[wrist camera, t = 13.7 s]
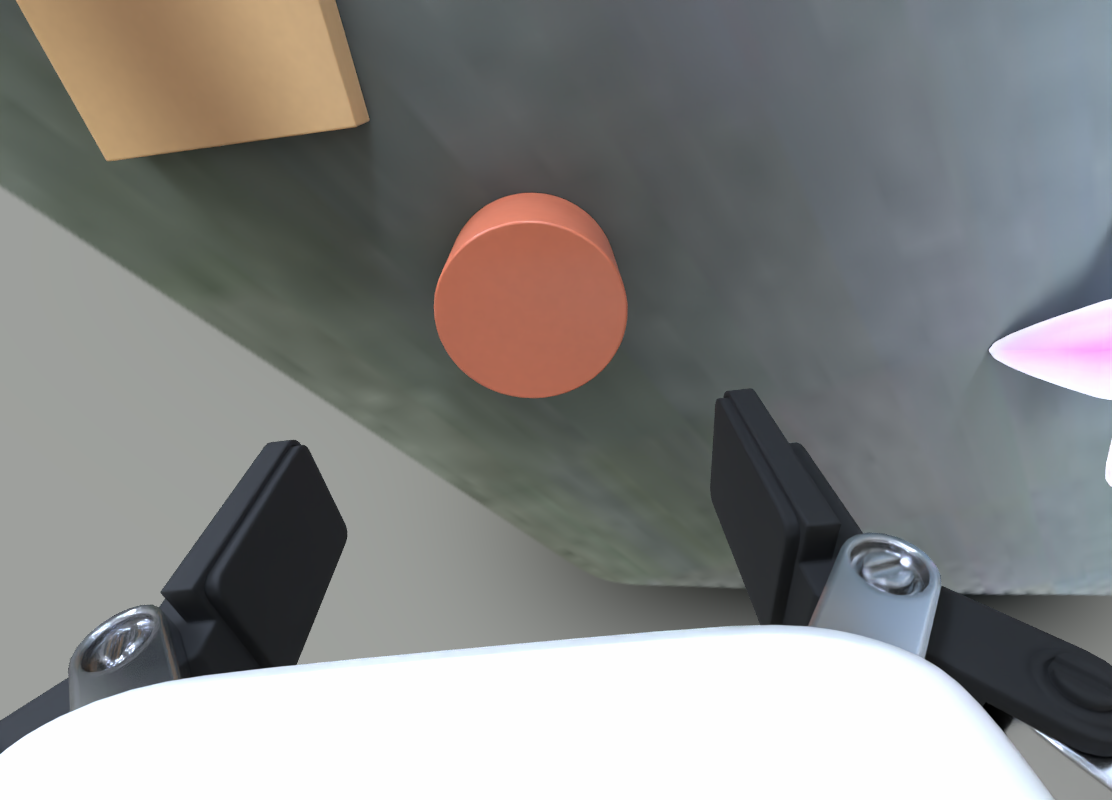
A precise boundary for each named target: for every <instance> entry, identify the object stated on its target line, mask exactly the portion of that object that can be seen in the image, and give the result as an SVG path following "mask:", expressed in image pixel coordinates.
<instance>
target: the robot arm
mask: <svg viewBox="0 0 1112 800" xmlns="http://www.w3.org/2000/svg"><path fill="white" fill-rule="evenodd" d="M710 492H711V498H712V502H713V505H714V508H715V510H716V513H717V515H718V518H719V520H720V523H721V526H722V528H723V531H724V533H725V536H726V538H727V541H728V543H729V546H730V548H731V551H732V554H733V556H734V559H735V561H736V564H737V566H738V569H739V571H740V574H741V576H742V579H743V582H744V584H745V587H746V589H747V592H748V594H749V597H750V599H751V602H752V604H753V607H754V610H755V612H756V615H757V617H758V620H759V622H760V625H749V626H726V627H712V628H699V629H685V630H672V631H671V630H670V631H657V632H645V633H633V634H622V635H611V636H600V637H588V638H576V639H566V640H554V641H544V642H531V643H521V644H510V645H499V646H489V647H477V648H468V649H456V650H447V651H435V652H424V653H414V654H403V655H393V656H383V657H373V658H362V659H352V660H342V661H332V662H323V663H312V664H302V665H297V662H298V660H299V657H300V655H301V652H302V650H303V647H304V645H305V642H306V640H307V637H308V635H309V632H310V630H311V627H312V625H313V623H314V620H315V618H316V615H317V612H318V610H319V608H320V605H321V603H322V600H323V598H324V595H325V593H326V590H327V588H328V585H329V583H330V580H331V578H332V575H333V573H334V570H335V568H336V566H337V563H338V561H339V558H340V556H341V553H342V551H343V548H344V546H345V543H346V540H347V528H346V525H345V523H344V521H343V519H342V516H341V515H340V512H339V510H338V508H337V506H336V504H335V502H334V500H333V498H332V496H331V494H330V492H329V490H328V488H327V486H326V484H325V482H324V479H323V478H322V476H321V473H320V472H319V469H318V467H317V465H316V463H315V461H314V459H313V457H312V455H311V453H310V451H309V449H308V448H307V447H306V446H305V445H301V444H300V443H299V442H298V441H296V440H287V441H279V442H271V443H268V444H267V445H266V446H265V447H264V448H263V450H262V451H261V452H260V454H259V455H258V456H257V458H256V459H255V461H254V462H253V463H252V465H251V466H250V468H249V469H248V470H247V472H246V473H245V475H244V476H243V477H242V479H241V480H240V482H239V483H238V484H237V486H236V487H235V489H234V490H233V491H232V493H231V494H230V496H229V497H228V499H227V500H226V501H225V503H224V504H223V505H222V507H221V508H220V509H219V511H218V513H217V514H216V515H215V516H214V518H213V519H212V521H211V522H210V523H209V525H208V526H207V528H206V529H205V530H204V532H203V533H202V535H201V536H200V537H199V539H198V540H197V542H196V543H195V545H194V546H193V547H192V549H191V550H190V551H189V553H188V554H187V556H186V557H185V558H184V560H183V561H182V563H181V564H180V565H179V567H178V568H177V570H176V571H175V572H174V574H173V575H172V577H171V578H170V579H169V581H168V582H167V584H166V585H165V586H164V588H163V589H162V591H161V594H162V595H163V596H164V597H165V600H164V601H163V603H162V604H161V606H160V607H157V606H154V605H140V606H136V607H133V608H129V609H127V610H124V611H122V612H120V613H118V614H116V615H114V616H112V617H111V618H109V619H108V620H106V621H105V622H103V623H101V624H100V625H99V626H98V627H97V628H95V629H94V630H93V631H92V632H91V633H90V634H88V635H87V636H86V637H85V639H84V640H83V641H82V642H81V643H80V644H79V645H78V647H77V648H76V650H75V652H74V654H73V656H72V657H71V659H70V663H69V668H68V674H69V675H68V676H69V677H68V678H67V679H65V680H64V681H62V682H61V683H59V684H57V685H56V686H54V687H53V688H51V689H50V690H48V691H46V692H45V693H43V694H42V695H40V696H38V697H37V698H36V699H34V700H32V701H31V702H29V703H27V704H26V705H24V706H23V707H21V708H20V709H18V710H16V711H15V712H13V713H12V714H10V715H9V716H7V717H5V718H4V719H2V720H0V800H1112V666H1111V665H1110V664H1109V663H1107V662H1106V661H1104V660H1103V659H1101V658H1099V657H1097V656H1095V655H1093V654H1091V653H1090V652H1088V651H1086V650H1084V649H1082V648H1079V647H1077V646H1075V645H1073V644H1070V643H1068V642H1066V641H1064V640H1062V639H1059V638H1057V637H1055V636H1053V635H1050V634H1048V633H1045V632H1044V631H1041V630H1039V629H1037V628H1035V627H1033V626H1030V625H1028V624H1026V623H1024V622H1021V621H1019V620H1017V619H1015V618H1012V617H1010V616H1008V615H1006V614H1004V613H1001V612H999V611H997V610H994V609H992V608H990V607H988V606H986V605H983V604H981V603H979V602H976V601H975V600H972V599H970V598H968V597H965V596H963V595H961V594H959V593H957V592H954V591H952V590H950V589H948V588H946V587H943V586H941V575H940V573H939V571H938V569H937V567H936V564H935V563H934V562H933V561H932V560H931V559H930V558H929V557H928V555H927V554H926V553H924V552H923V551H922V550H920V549H919V548H917V547H916V546H915V545H913V544H911V543H909V542H907V541H905V540H903V539H900V538H898V537H895V536H891V535H887V534H883V533H862V531H861V530H860V528H859V527H858V525H857V524H856V522H855V521H854V519H853V518H852V517H851V515H850V514H849V512H848V511H847V509H846V508H845V506H844V505H843V503H842V502H841V501H840V499H839V498H838V496H837V495H836V493H835V492H834V490H833V489H832V487H831V486H830V484H829V483H828V482H827V480H826V479H825V477H824V476H823V474H822V473H821V471H820V470H819V468H818V467H817V466H816V464H815V463H814V461H813V460H812V458H811V457H810V455H809V454H808V452H807V451H806V450H805V448H804V447H803V446H802V445H801V444H799V443H788V441H787V440H786V438H785V437H784V435H783V434H782V432H781V430H780V429H779V427H778V426H777V424H776V423H775V421H774V420H773V418H772V417H771V415H770V414H769V412H768V411H767V409H766V408H765V406H764V404H763V403H762V401H761V400H760V398H759V397H758V395H757V394H756V392H755V391H754V390H753V389H751V388H750V389H741V390H732V391H726V392H725V394H724V398H719V399H717V400H716V404H715V420H714V436H713V452H712V468H711V484H710Z"/></svg>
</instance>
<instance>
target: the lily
mask: <svg viewBox="0 0 1112 800" xmlns="http://www.w3.org/2000/svg"><path fill="white" fill-rule="evenodd" d="M989 352H990V353H991V355H992V356H993V357H994V358H995V359H996V360H998V361H1000V362H1002V363H1004V364H1006V365H1007V366H1009V367H1011V368H1014V369H1016V370H1019V371H1021V372H1024V373H1026V374H1029V375H1031V376H1034V377H1036V378H1039V379H1042V380H1045V381H1048V382H1051V383H1053V384H1056V385H1059V386H1062V387H1065V388H1068V389H1071V390H1075V391H1078V392H1081V393H1084V394H1088V395H1091V396H1094V397H1097V398H1103V399H1108V400H1112V299H1109V300H1105V301H1102V302H1099V303H1096V304H1093V305H1090V306H1087V307H1084V308H1081V309H1078V310H1075V311H1072V312H1069V313H1066V314H1063V315H1060V316H1057V317H1054V318H1051V319H1049V320H1046V321H1043V322H1040V323H1037V324H1035V325H1032V326H1030V327H1027V328H1024V329H1022V330H1019V331H1017V332H1014V333H1012V334H1010V335H1008V336H1006V337H1004V338H1002V339H1000V340H998V341H996V342H995V343H994V344H993V345H992V346H991V348H990V349H989ZM1106 481H1107V482H1108V484H1109V485H1110V487H1112V440H1111V444H1110V448H1109V453H1108V458H1107V463H1106Z"/></svg>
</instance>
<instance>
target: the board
mask: <svg viewBox="0 0 1112 800" xmlns="http://www.w3.org/2000/svg"><path fill="white" fill-rule="evenodd" d="M16 1H17V3H18V5H19V7H20V9H21V10H22V12H23V14H24V16H25V17H26V19H27V21H28V23H29V24H30V26H31V28H32V30H33V32H34V33H35V35H36V37H37V39H38V40H39V42H40V44H41V46H42V47H43V49H44V51H45V53H46V55H47V56H48V58H49V60H50V62H51V63H52V65H53V67H54V69H55V70H56V72H57V74H58V76H59V78H60V79H61V81H62V83H63V85H64V86H65V88H66V90H67V92H68V93H69V95H70V97H71V99H72V101H73V102H74V104H75V106H76V108H77V109H78V111H79V113H80V115H81V116H82V118H83V120H84V122H85V124H86V125H87V127H88V129H89V131H90V132H91V134H92V136H93V138H94V139H95V141H96V143H97V145H98V147H99V148H100V150H101V152H102V154H103V155H104V157H105V159H106V160H107V161H116V160H123V159H130V158H137V157H145V156H152V155H159V154H166V153H173V152H181V151H188V150H195V149H202V148H209V147H216V146H224V145H231V144H238V143H245V142H252V141H260V140H267V139H274V138H281V137H288V136H296V135H303V134H310V133H317V132H324V131H332V130H339V129H346V128H353V127H357V126H359V125H362V124H364V123H366V122H368V121H369V116H368V113H367V109H366V106H365V102H364V99H363V95H362V92H361V88H360V85H359V81H358V78H357V74H356V71H355V67H354V64H353V60H352V57H351V53H350V50H349V46H348V43H347V39H346V36H345V32H344V29H343V25H342V22H341V18H340V15H339V11H338V8H337V4H336V1H335V0H16Z"/></svg>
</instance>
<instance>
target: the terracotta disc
mask: <svg viewBox="0 0 1112 800" xmlns="http://www.w3.org/2000/svg"><path fill="white" fill-rule="evenodd" d="M627 312H628V306H627V297H626V292H625V288H624V285H623V281H622V278H621V275H620V272H619V269H618V266H617V263H616V260H615V257H614V254H613V251H612V248H611V246H610V244H609V241H608V239H607V237H606V235H605V234H604V232H603V230H602V229H601V228H600V226H599V225H598V224H597V223H596V221H595V220H594V219H593V218H592V217H591V216H590V215H589V214H588V213H586V212H585V211H584V210H582V209H581V208H580V207H578V206H577V205H575V204H573V203H571V202H569V201H567V200H565V199H562V198H559V197H557V196H553V195H548V194H543V193H519V194H514V195H509V196H506V197H503V198H500V199H498V200H496V201H494V202H492V203H490V204H488V205H486V206H485V207H483V208H482V209H481V210H479V211H478V212H477V213H476V214H475V215H474V216H473V217H472V218H470V219H469V221H468V222H467V223H466V225H465V226H464V227H463V228H462V230H461V232H460V234H459V235H458V237H457V239H456V241H455V244H454V246H453V248H452V250H451V253H450V255H449V257H448V259H447V261H446V264H445V266H444V268H443V270H442V273H441V275H440V278H439V280H438V283H437V287H436V292H435V298H434V317H435V323H436V327H437V331H438V334H439V337H440V340H441V342H442V344H443V346H444V348H445V350H446V351H447V353H448V354H449V356H450V357H451V359H452V360H453V361H454V362H455V363H456V365H457V366H458V367H459V368H460V369H461V370H462V371H463V372H464V373H466V374H467V375H468V376H469V377H470V378H472V379H473V380H475V381H476V382H478V383H479V384H481V385H483V386H485V387H487V388H489V389H491V390H494V391H496V392H499V393H502V394H506V395H509V396H515V397H521V398H544V397H550V396H556V395H559V394H563V393H566V392H569V391H571V390H574V389H576V388H578V387H580V386H582V385H583V384H585V383H587V382H588V381H590V380H591V379H592V378H594V377H595V376H596V375H597V374H599V373H600V372H601V371H602V370H603V369H604V368H605V367H606V365H607V364H608V363H609V362H610V361H611V359H612V358H613V356H614V355H615V353H616V352H617V350H618V348H619V346H620V344H621V341H622V339H623V336H624V333H625V329H626V323H627Z"/></svg>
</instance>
